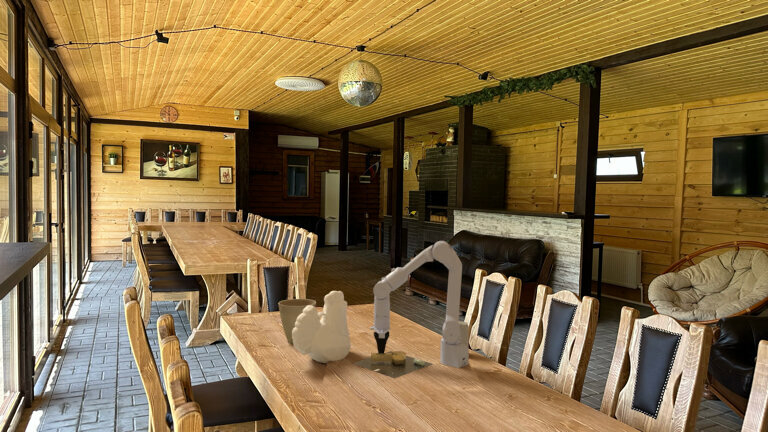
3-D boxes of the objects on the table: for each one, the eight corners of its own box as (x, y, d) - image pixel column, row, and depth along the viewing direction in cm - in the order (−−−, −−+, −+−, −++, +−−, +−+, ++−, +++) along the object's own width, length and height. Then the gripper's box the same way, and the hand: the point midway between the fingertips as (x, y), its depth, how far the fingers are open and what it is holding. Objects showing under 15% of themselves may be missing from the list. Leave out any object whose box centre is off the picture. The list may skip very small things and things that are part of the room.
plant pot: (319, 337, 215) (319, 299, 214) (310, 347, 200) (311, 307, 199) (284, 335, 216) (284, 297, 215) (273, 345, 201) (273, 305, 201)
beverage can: (448, 354, 194) (449, 323, 193) (454, 350, 200) (455, 319, 199) (465, 357, 191) (465, 325, 190) (470, 353, 197) (471, 322, 196)
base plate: (433, 368, 179) (433, 359, 179) (394, 382, 164) (394, 373, 164) (391, 355, 193) (391, 346, 192) (351, 367, 178) (351, 358, 178)
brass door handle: (405, 360, 182) (405, 351, 182) (406, 364, 177) (406, 355, 177) (371, 359, 181) (371, 350, 181) (370, 364, 176) (371, 355, 176)
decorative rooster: (335, 349, 198) (336, 285, 197) (359, 360, 186) (361, 292, 185) (276, 362, 183) (277, 292, 181) (298, 374, 170) (299, 300, 169)
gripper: (370, 310, 191) (370, 346, 191) (370, 319, 176) (369, 359, 177) (389, 310, 191) (389, 346, 191) (391, 320, 176) (390, 359, 177)
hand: (381, 352), depth 184 cm, fingers closed
